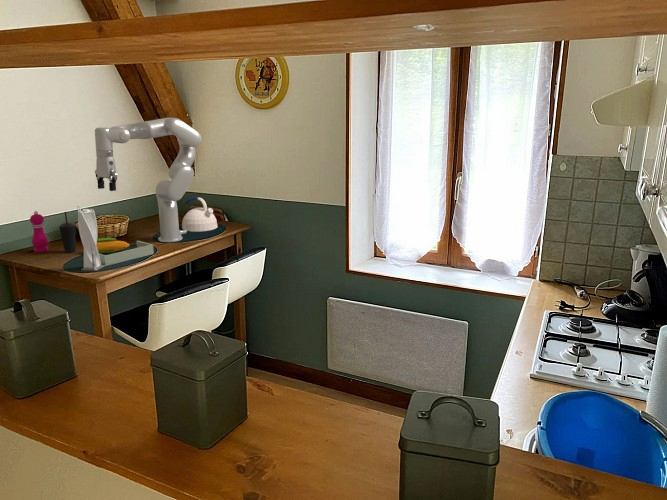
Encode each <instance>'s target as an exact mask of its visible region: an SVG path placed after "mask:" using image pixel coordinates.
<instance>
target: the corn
mask: <svg viewBox="0 0 667 500" xmlns="http://www.w3.org/2000/svg"><path fill="white" fill-rule="evenodd" d="M96 246H97V250H98V253H99V254H114V253H116V252H118V251H123V250H125V249H127V248H129V247H130V243H127V242H126V241H122V240H117V238H113V237H105V238H97V243H96Z"/></svg>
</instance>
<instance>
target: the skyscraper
mask: <svg viewBox="0 0 667 500" xmlns="http://www.w3.org/2000/svg"><path fill="white" fill-rule="evenodd" d="M76 207H77V215H78V216H77V217H78V219H77V220H78V221H77V222H78V232H79V236H80V240H81V244H82V246H83V267H82V268H81V271H93V272H96V271H98V270H101V269H102V268H104V267H106V266H105V265H101V261H100V257H99V253H98V250H97V246H96V243H97V239H98V225H97V224H98V222H97V218H96V212H95V210H94V209H93V208H83V209H82V210H81V207H80V206H79V205H78V206H76Z"/></svg>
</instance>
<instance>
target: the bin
mask: <svg viewBox="0 0 667 500" xmlns="http://www.w3.org/2000/svg"><path fill="white" fill-rule="evenodd" d="M154 254H155V251H154V244H151V243H148V242H144V241H142V240H141V241H140V240H136V247H135V248H132V249H127V250H124V251H123V250H121V251H119V252H118V251H117V252H114V253H109V254H106V255H105V254H103V253H101V254H99V257H100V261H101V265H105V266H104V267H106V266H111V265H115V264H119V263H122V262H127V261H132V260H135V259H139V258H142V257H147V256H150V255H154Z"/></svg>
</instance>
